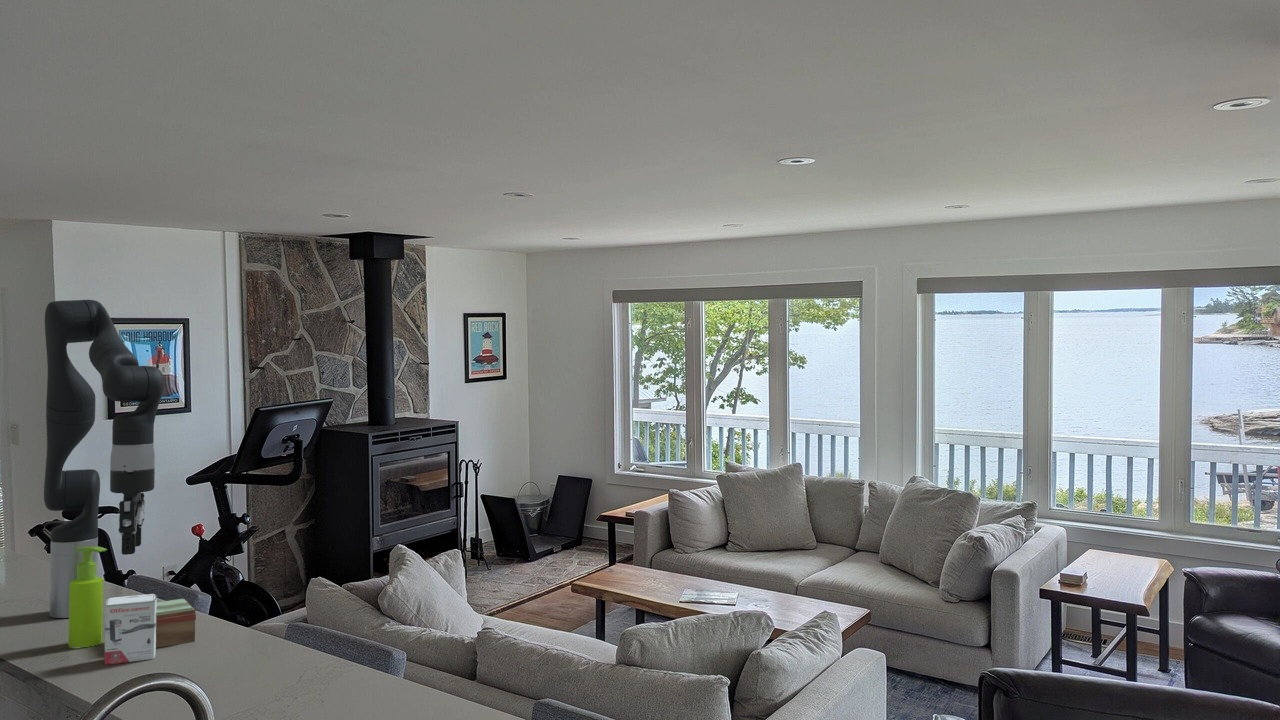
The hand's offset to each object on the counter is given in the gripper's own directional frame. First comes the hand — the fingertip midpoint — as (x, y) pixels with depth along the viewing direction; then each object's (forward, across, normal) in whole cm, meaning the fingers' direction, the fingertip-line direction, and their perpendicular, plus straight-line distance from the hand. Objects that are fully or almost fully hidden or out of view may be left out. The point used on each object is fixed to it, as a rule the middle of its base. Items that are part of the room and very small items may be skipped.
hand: (131, 550), depth 168 cm
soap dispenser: (+21, -14, -9) cm, 27 cm away
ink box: (+22, 0, 0) cm, 22 cm away
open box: (+21, -12, +4) cm, 24 cm away
